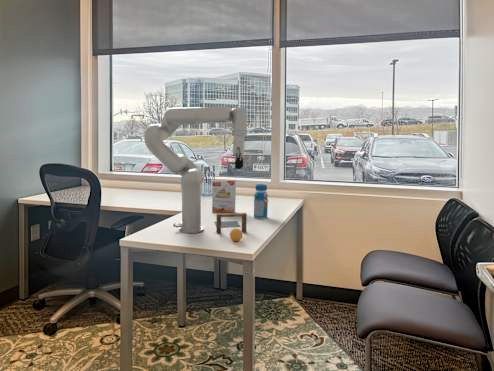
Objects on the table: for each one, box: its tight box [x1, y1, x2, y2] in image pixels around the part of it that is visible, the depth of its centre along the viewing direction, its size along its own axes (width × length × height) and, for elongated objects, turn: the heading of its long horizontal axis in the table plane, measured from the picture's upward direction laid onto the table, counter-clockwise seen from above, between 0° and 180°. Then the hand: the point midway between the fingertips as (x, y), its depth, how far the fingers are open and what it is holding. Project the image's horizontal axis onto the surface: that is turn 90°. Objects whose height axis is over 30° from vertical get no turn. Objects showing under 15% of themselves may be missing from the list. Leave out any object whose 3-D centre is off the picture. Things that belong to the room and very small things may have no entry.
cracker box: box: [211, 178, 237, 214], centre depth 245 cm, size 14×6×21 cm, turn 80°
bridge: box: [215, 212, 248, 234], centre depth 197 cm, size 15×3×10 cm, turn 100°
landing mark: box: [214, 220, 242, 229], centre depth 215 cm, size 13×13×1 cm
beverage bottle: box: [253, 183, 269, 220], centre depth 231 cm, size 8×8×20 cm
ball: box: [229, 228, 243, 242], centre depth 182 cm, size 6×6×6 cm
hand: (239, 167), depth 194 cm, fingers open, 9 cm apart
